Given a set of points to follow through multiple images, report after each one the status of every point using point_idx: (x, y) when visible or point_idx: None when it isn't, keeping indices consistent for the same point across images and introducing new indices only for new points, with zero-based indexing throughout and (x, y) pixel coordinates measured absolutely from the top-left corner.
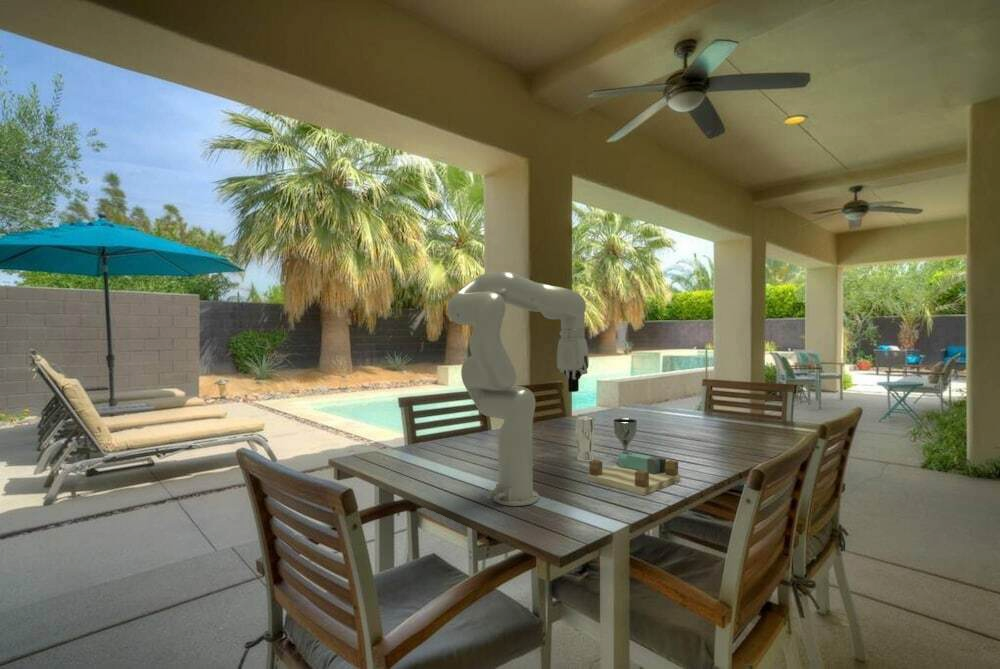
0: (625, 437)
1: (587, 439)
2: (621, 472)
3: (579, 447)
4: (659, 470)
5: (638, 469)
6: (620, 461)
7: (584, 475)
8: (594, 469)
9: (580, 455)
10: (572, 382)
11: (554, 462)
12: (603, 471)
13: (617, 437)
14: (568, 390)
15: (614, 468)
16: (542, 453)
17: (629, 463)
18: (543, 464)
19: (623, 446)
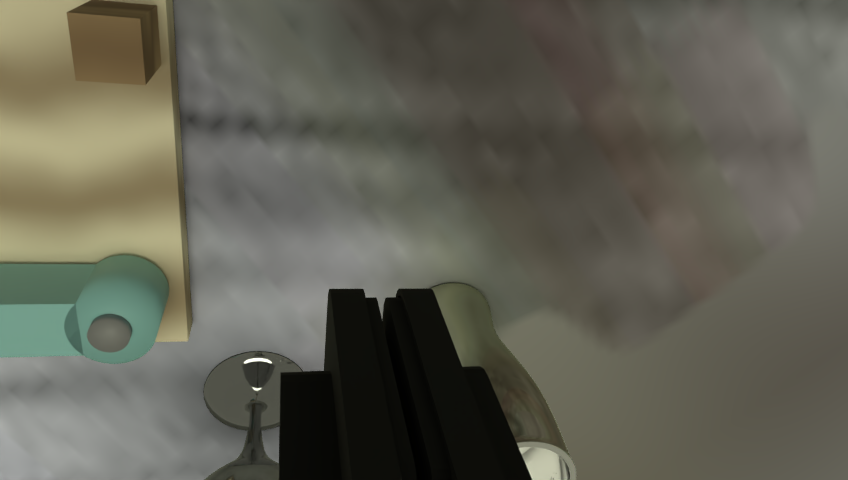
0: (212, 476)
1: None
2: (51, 172)
3: (478, 326)
4: None
5: (8, 265)
6: (129, 271)
7: (263, 75)
8: (102, 6)
9: (460, 300)
10: (342, 438)
11: (546, 175)
12: (142, 119)
13: (272, 463)
14: (434, 294)
15: (144, 214)
16: (682, 265)
17: (69, 278)
18: (575, 104)
19: (256, 447)
